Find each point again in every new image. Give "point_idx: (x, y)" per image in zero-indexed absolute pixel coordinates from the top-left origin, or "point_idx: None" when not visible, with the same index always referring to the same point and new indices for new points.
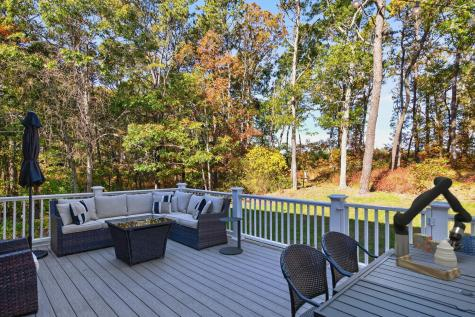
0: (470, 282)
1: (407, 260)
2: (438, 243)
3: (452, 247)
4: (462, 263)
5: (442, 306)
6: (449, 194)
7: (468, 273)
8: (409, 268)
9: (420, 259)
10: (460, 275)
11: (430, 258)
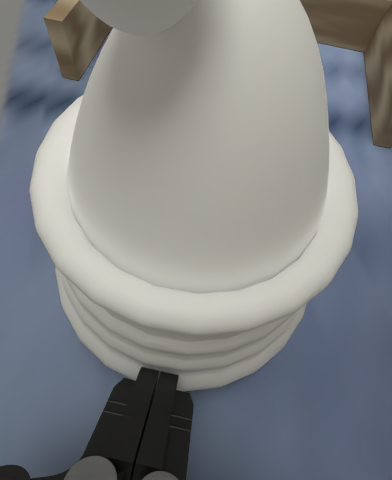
0: (21, 21)
1: (382, 89)
2: None
3: (55, 202)
4: None
5: None
6: None
7: (8, 143)
8: None
9: (383, 259)
10: (63, 74)
11: (355, 382)
